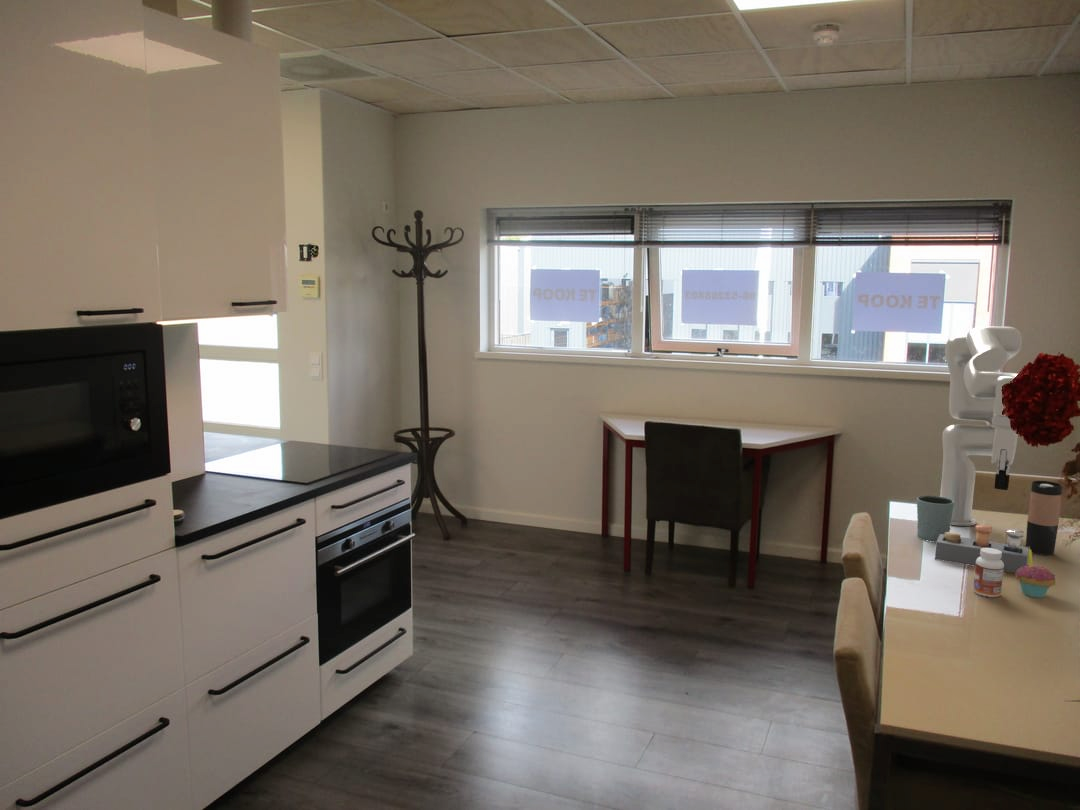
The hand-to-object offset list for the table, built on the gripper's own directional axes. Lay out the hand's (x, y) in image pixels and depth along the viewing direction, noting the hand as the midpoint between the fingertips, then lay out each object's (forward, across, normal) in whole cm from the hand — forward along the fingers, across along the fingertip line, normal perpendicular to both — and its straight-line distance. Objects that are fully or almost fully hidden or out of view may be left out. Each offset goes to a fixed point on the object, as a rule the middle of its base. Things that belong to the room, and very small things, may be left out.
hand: (1001, 488), depth 227 cm
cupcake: (+22, +19, +10) cm, 31 cm away
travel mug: (+22, -21, +10) cm, 32 cm away
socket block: (+21, 0, -3) cm, 22 cm away
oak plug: (+21, 0, -11) cm, 23 cm away
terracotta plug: (+17, 0, -3) cm, 17 cm away
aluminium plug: (+17, 0, +4) cm, 18 cm away
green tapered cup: (+22, -16, -18) cm, 32 cm away
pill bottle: (+22, +25, +1) cm, 33 cm away
